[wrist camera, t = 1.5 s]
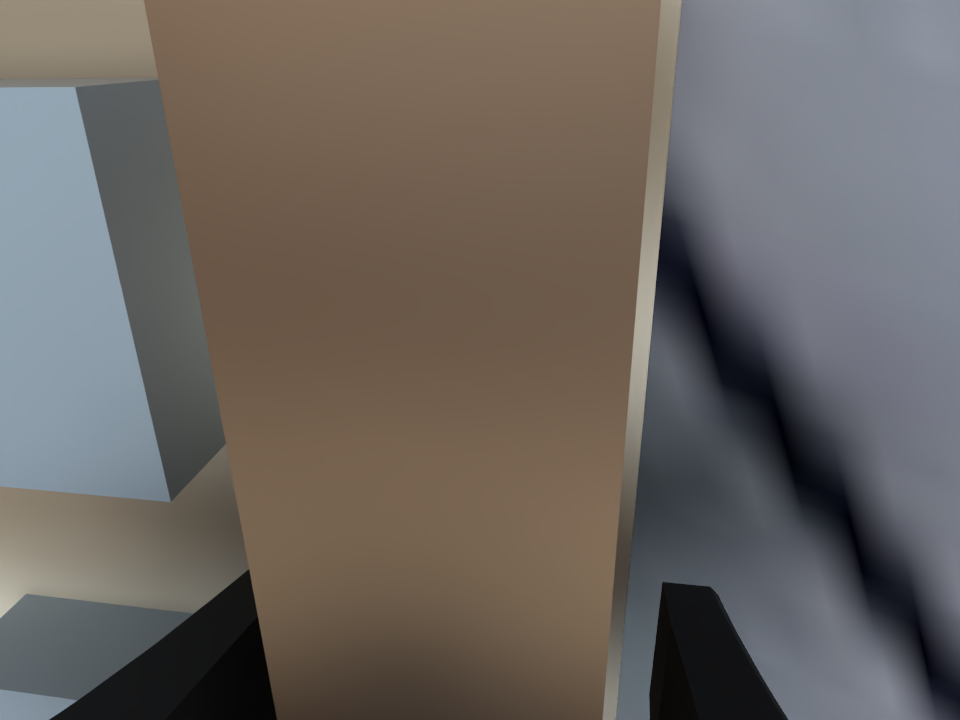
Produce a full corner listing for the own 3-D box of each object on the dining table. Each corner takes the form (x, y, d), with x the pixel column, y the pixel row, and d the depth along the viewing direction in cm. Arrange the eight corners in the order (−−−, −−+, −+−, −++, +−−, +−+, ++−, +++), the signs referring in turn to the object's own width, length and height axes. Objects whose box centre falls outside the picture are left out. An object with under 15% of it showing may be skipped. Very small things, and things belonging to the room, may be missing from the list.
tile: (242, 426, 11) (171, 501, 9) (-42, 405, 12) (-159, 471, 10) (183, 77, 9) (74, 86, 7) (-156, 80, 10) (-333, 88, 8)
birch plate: (597, 805, 18) (594, 943, 15) (121, 734, 20) (44, 845, 17) (678, -180, 9) (706, -268, 7) (-153, -129, 11) (-387, -182, 9)
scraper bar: (574, 881, 14) (561, 1218, 10) (428, 857, 15) (360, 1169, 11) (635, -26, 8) (669, -101, 4) (368, -19, 8) (129, -77, 4)
